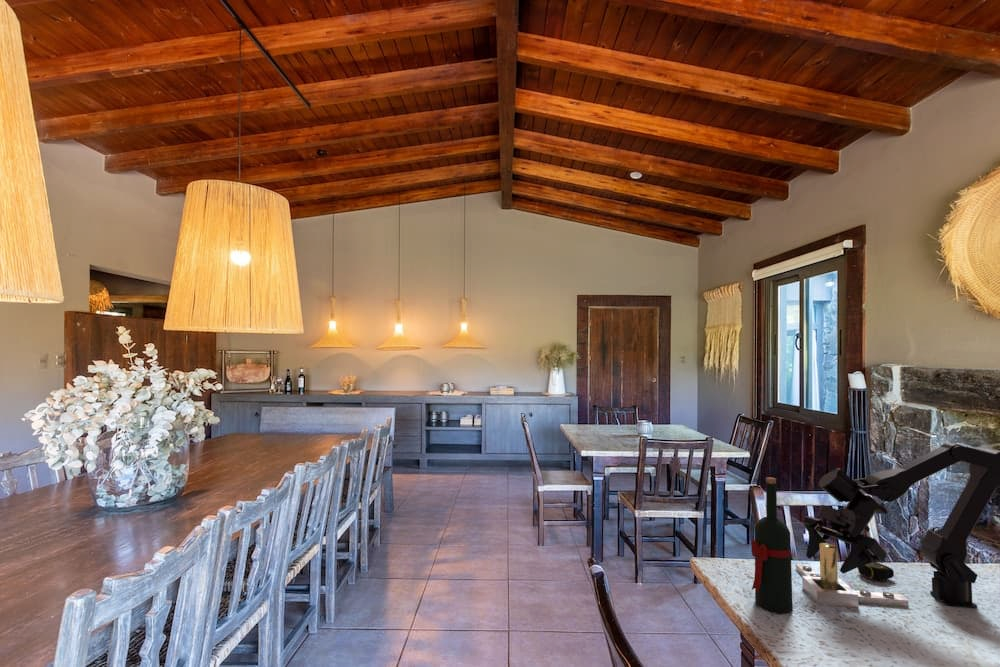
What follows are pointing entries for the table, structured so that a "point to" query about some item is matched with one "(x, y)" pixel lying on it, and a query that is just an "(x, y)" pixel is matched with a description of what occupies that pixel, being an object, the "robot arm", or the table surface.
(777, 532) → the wine bottle
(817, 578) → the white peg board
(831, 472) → the robot arm
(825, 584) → the gold metal cylinder
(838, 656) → the table surface
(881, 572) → the tape measure
